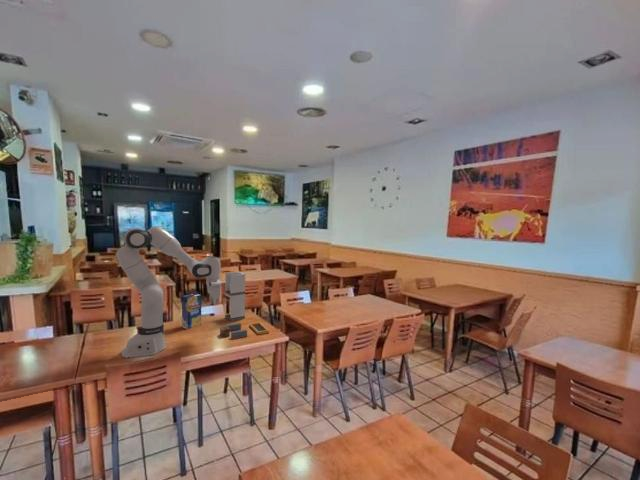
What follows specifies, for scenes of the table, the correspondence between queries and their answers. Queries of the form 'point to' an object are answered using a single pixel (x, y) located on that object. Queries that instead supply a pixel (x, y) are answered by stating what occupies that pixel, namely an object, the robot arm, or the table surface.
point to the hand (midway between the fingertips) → (213, 302)
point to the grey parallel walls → (237, 333)
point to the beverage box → (191, 311)
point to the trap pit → (258, 328)
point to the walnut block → (224, 331)
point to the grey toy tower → (235, 295)
